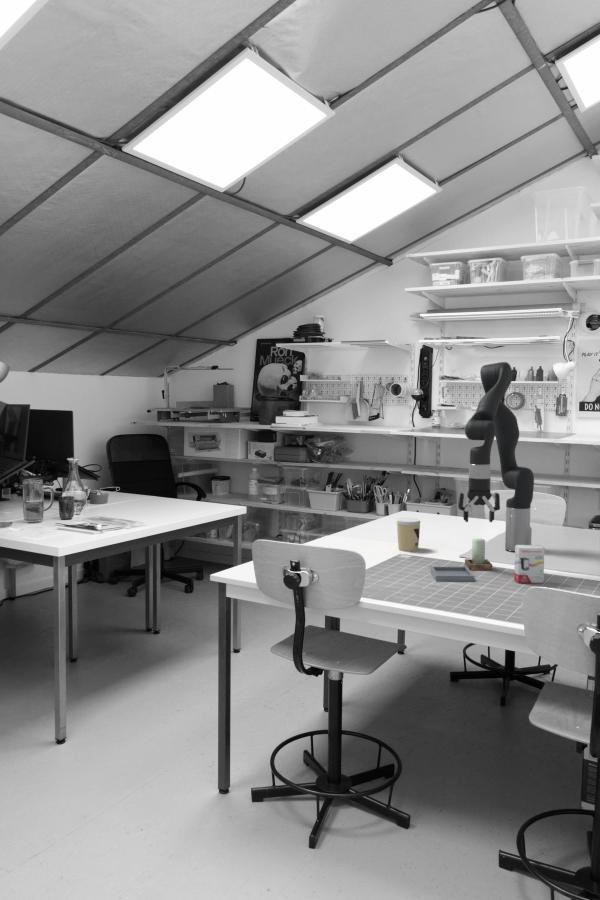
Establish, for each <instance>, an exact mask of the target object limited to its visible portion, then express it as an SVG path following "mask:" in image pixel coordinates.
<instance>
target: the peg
mask: <svg viewBox="0 0 600 900" xmlns="http://www.w3.org/2000/svg"><path fill="white" fill-rule="evenodd" d="M471 541H472V543H471V545H472V546H471V559H472V564H485V559H486V558H485V557H486V540H485V539H483V538H473V539H472V540H471Z"/></svg>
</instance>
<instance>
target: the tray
mask: <svg viewBox="0 0 600 900" xmlns="http://www.w3.org/2000/svg"><path fill="white" fill-rule="evenodd" d="M471 571H472V570H469V569H468V567H466V566H443V565H442V566H439V565H437V566H436V565H434V566H432V565H431V566H430V573H431V575H432V577H433V579H434V580H435V582H475V575H474V573H472V572H471Z"/></svg>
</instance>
